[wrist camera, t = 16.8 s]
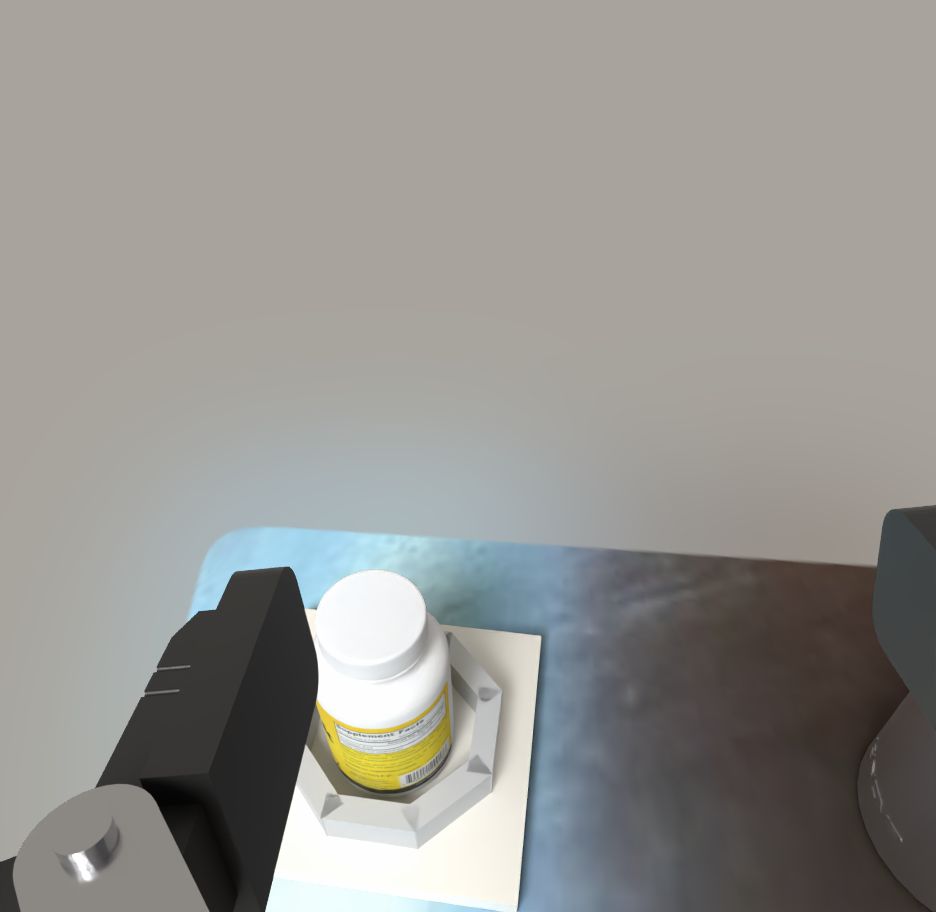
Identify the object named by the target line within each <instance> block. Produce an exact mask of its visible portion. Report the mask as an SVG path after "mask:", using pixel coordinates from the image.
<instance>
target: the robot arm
mask: <svg viewBox="0 0 936 912" xmlns="http://www.w3.org/2000/svg"><path fill="white" fill-rule="evenodd" d="M872 613H873V622H874V627H875V631H876V635H877V638H878V640H879V643H880V645H881V647H882V649H883V651H884V653H885V654H886V656H887V657H888V659H889V660H890V662H891V663H892V665H893V666H894V668H895V669H896V671H897V672H898V674H899V675H900V677H901V679H902V680H903V682H904V683H905V685H906V686H907V688H908V689H909V691H910V692H909V694H908V695H907V696H906V698H905V699H904V700H903V701H902V703H901V704H900V705H899V707H898V708H897V709H896V711H895V712H894V713H893V715H892V716H891V717H890V719H889V720H888V721H887V723H886V724H885V725H884V727H883V728H882V729H881V731H880V732H879V733H878V735H877V736H876V737H875V739H874V740H873V741H872V743H871V744H870V745H869V747H868V748H867V750H866V753H865V755H864V757H863V759H862V761H861V764H860V768H859V775H858V781H857V789H858V800H859V808H860V811H861V814H862V818H863V821H864V824H865V828H866V831H867V833H868V834H869V836H870V838H871V840H872V842H873V844H874V846H875V848H876V850H877V852H878V854H879V856H880V857H881V858H882V860H883V861H884V862H885V864H886V865H887V867H888V868H889V869H890V871H891V872H892V873H893V875H894V876H895V877H896V879H897V880H898V881H899V882H900V883H901V884H902V885H903V886H904V887H905V888H906V889H907V890H908V891H909V892H910V893H911V894H912V895H913V896H914V897H915V898H916V899H917V900H918V901H919V902H921V903H922V904H923V905H925V906H926V907H927V908H929V909H930V910H931V911H933V912H936V505H934V506H923V507H913V508H902V509H893V510H890V511H889V512H888V513H887V514H886V517H885V519H884V522H883V527H882V535H881V542H880V549H879V557H878V564H877V572H876V579H875V587H874V595H873V604H872ZM318 685H319V671H318V660H317V654H316V650H315V646H314V642H313V638H312V635H311V631H310V627H309V624H308V620H307V616H306V612H305V609H304V605H303V601H302V598H301V594H300V590H299V587H298V583H297V579H296V576H295V574H294V572H293V570H292V569H291V568H290V567H278V568H267V569H257V570H247V571H237V572H235V573H234V574H233V575H232V576H231V578H230V580H229V582H228V584H227V587H226V589H225V591H224V593H223V595H222V598H221V600H220V602H219V604H218V606H217V609H216V610H208V611H199V612H198V613H197V614H196V615H195V616H194V617H193V618H191V619H190V620H189V621H188V622H187V623H186V624H185V625H184V626H183V628H181V629H180V630H179V631H178V632H177V633H176V634H175V635H174V636H173V637H172V638H171V640H170V642H169V644H168V646H167V648H166V650H165V652H164V654H163V655H162V658H161V660H160V661H159V663H158V665H157V672H155V673H153V675H152V677H151V679H150V681H149V683H148V685H147V687H146V689H145V697H141V699H140V701H139V703H138V705H137V707H136V709H135V711H134V713H133V715H132V717H131V719H130V720H129V722H128V725H127V726H126V728H125V730H124V732H123V734H122V736H121V738H120V740H119V742H118V744H117V746H116V748H115V750H114V752H113V754H112V756H111V758H110V760H109V762H108V764H107V766H106V768H105V770H104V772H103V774H102V776H101V778H100V780H99V782H98V783H97V786H96V787H95V788H94V789H91V790H89V791H86V792H83V793H81V794H79V795H77V796H75V797H73V798H71V799H70V800H68V801H66V802H65V803H63V804H61V805H60V806H58V807H57V808H56V809H54V810H53V811H52V812H50V813H49V814H48V815H47V816H46V817H45V818H44V819H43V820H42V821H41V822H39V824H38V825H37V826H36V827H35V828H34V829H33V830H32V831H31V832H30V834H29V835H28V837H27V838H26V840H25V841H24V842H23V844H22V846H21V848H20V850H19V852H18V854H17V856H15V857H12V858H10V859H7V860H5V861H2V862H0V912H265V910H266V906H267V901H268V897H269V893H270V889H271V885H272V881H273V877H274V873H275V869H276V864H277V860H278V856H279V852H280V848H281V844H282V840H283V836H284V831H285V827H286V823H287V819H288V815H289V811H290V807H291V803H292V799H293V794H294V790H295V786H296V782H297V778H298V774H299V770H300V766H301V761H302V757H303V753H304V749H305V745H306V741H307V737H308V733H309V729H310V724H311V720H312V716H313V712H314V708H315V704H316V700H317V694H318Z"/></svg>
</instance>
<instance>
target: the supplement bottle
mask: <svg viewBox="0 0 936 912" xmlns="http://www.w3.org/2000/svg"><path fill="white" fill-rule="evenodd" d="M315 630H316V636H315V638H314V640H313V642H314V646H315V650H316V654H317V660H318V671H319V685H318V694H317V700H316V705H317V708H318V711H319V714H320V717H321V721H322V724H323V727H324V730H325V733H326V736H327V740H328V743H329V747H330V750H331V753H332V756H333V758H334V761H335V763H336V765H337V767H338V769H339V771H340V772H341V774H342V775H343V776H344V778H345V779H346V780H347V781H348V782H349V783H351V784H352V785H353V786H354V787H356V788H358V789H359V790H361V791H363V792H365V793H368V794H371V795H374V796H380V797H399V796H404V795H408V794H411V793H413V792H416V791H418V790H420V789H422V788H424V787H425V786H426V785H428V784H429V783H430V782H432V781H433V780H434V779H435V778H436V777H437V776H438V775H439V774H440V772H441V771H442V770H443V768H444V767H445V765H446V763H447V761H448V759H449V757H450V755H451V752H452V748H453V743H454V713H453V697H452V681H451V666H450V654H449V647H448V643H447V639H446V636H445V633H444V631H443V629H442V627H441V626H440V624H439V623H438V621H437V620H436V619H435V618H434V616H433V615H432V614H431V613H429V612H428V611H427V608H426V604H425V600H424V598H423V595H422V594H421V592H420V590H419V589H418V588H417V587H416V586H415V585H414V584H413V583H412V582H411V581H410V580H409V579H407V578H405V577H404V576H402V575H399V574H397V573H394V572H391V571H386V570H366V571H360V572H357V573H354V574H351V575H349V576H347V577H345V578H343V579H341V580H340V581H338V582H337V583H335V584H334V585H333V586H332V587H331V588H330V589H329V590H328V591H327V592H326V593H325V595H324V596H323V598H322V599H321V601H320V603H319V605H318V608H317V611H316V615H315Z"/></svg>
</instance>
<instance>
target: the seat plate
mask: <svg viewBox="0 0 936 912" xmlns="http://www.w3.org/2000/svg"><path fill="white" fill-rule="evenodd" d="M304 609H305V608H304ZM316 611H317V610H314V609H305V612H306V616H307V620H308V624H309V627H310V631H311V635H312V638H313V640H314V638H315V636H316V630H315V615H316ZM440 626H441V627H442V629H443V631H444V633H445V636H446V639H447V643H448V647H449V654H450V666H451V681H452V697H453V713H454V743H453V748H452V752H451V755H450V757H449V759H448V761H447V763H446V765H445V767H444V768H443V770H442V771H441V772H440V774H439V775H438V776H437V777H436V778H435V779H434V780H433V781H432V782H430V783H429V784H428V785H426V786H425V787H424V788H422V789H420V790H418V791H416V792H413V793H411V794H408V795H404V796H399V797H380V796H374V795H371V794H368V793H365V792H363V791H361V790H359V789H358V788H356V787H354V786H353V785H352V784H351V783H349V782H348V781H347V780H346V779H345V778H344V776H343V775H342V774H341V772H340V771H339V769H338V767H337V765H336V763H335V761H334V758H333V756H332V753H331V750H330V747H329V743H328V740H327V736H326V733H325V730H324V727H323V724H322V721H321V717H320V714H319V711H318V708H317V705H316V704H315V708H314V712H313V716H312V720H311V724H310V729H309V733H308V737H307V741H306V745H305V749H304V753H303V757H302V761H301V766H300V770H299V774H298V778H297V782H296V786H295V790H294V794H293V799H292V803H291V807H290V811H289V815H288V819H287V823H286V827H285V831H284V836H283V840H282V844H281V848H280V852H279V856H278V860H277V864H276V869H275V873H274V877H278V878H285V879H291V880H298V881H304V882H311V883H317V884H324V885H331V886H337V887H344V888H350V889H357V890H364V891H370V892H377V893H383V894H390V895H397V896H403V897H410V898H416V899H423V900H429V901H436V902H443V903H449V904H456V905H462V906H469V907H476V908H482V909H489V910H495V911H502V912H517V906H518V895H519V884H520V873H521V861H522V850H523V839H524V827H525V816H526V805H527V793H528V782H529V771H530V759H531V748H532V737H533V725H534V714H535V703H536V691H537V680H538V669H539V657H540V646H541V636H538V635H529V634H521V633H512V632H503V631H495V630H486V629H477V628H469V627H460V626H452V625H443V624H440Z"/></svg>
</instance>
